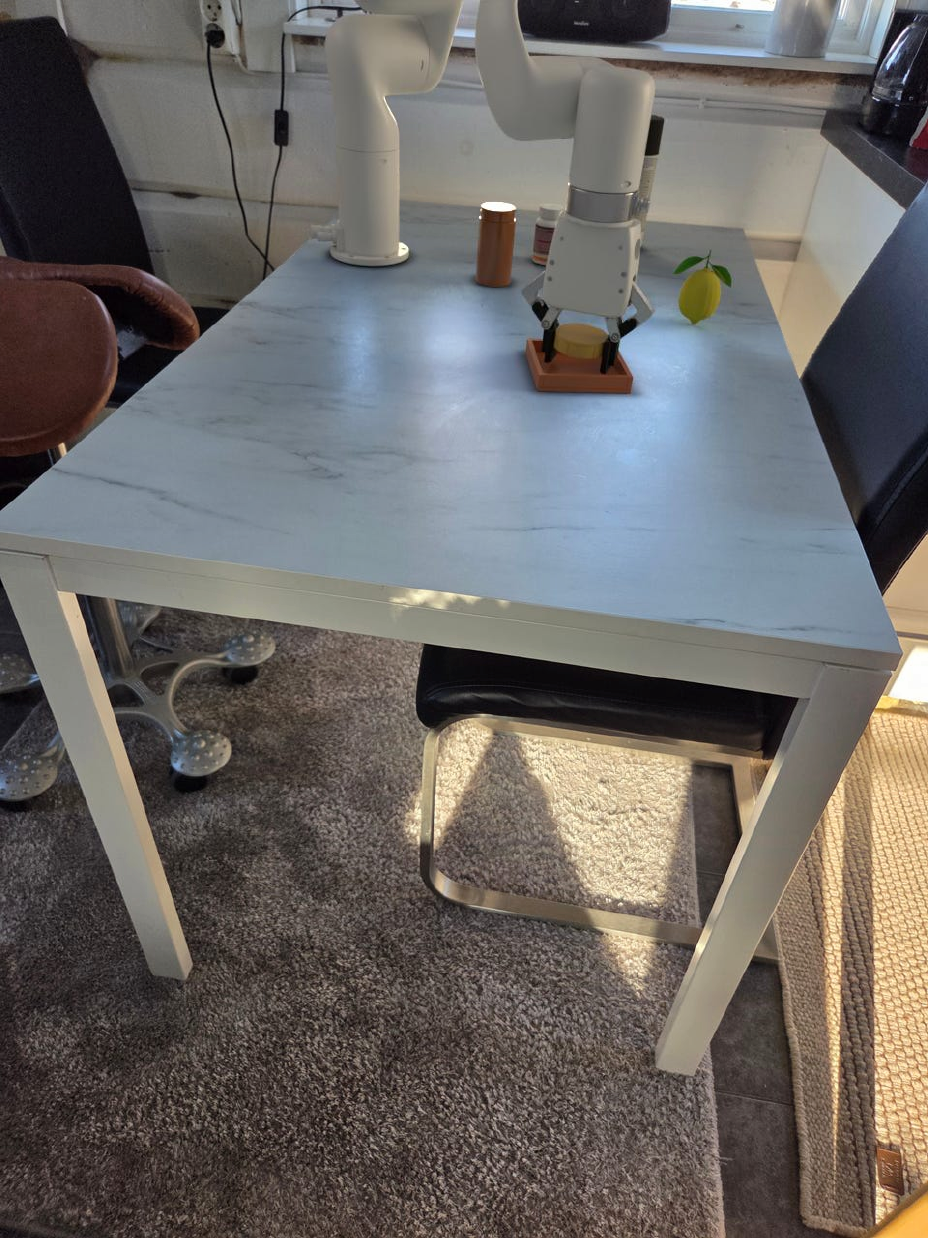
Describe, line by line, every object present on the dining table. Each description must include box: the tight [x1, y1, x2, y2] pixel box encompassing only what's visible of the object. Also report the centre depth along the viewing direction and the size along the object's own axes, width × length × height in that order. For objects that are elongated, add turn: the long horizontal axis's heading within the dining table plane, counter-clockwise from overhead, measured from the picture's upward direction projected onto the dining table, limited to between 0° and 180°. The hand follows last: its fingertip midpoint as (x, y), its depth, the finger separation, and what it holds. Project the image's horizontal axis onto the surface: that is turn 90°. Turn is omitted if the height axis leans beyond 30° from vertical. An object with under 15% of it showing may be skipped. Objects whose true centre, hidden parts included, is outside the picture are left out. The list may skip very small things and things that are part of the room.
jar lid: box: [553, 322, 609, 359], centre depth 99 cm, size 6×6×2 cm
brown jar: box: [475, 201, 517, 288], centre depth 124 cm, size 5×5×11 cm
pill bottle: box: [531, 203, 566, 266], centre depth 134 cm, size 5×5×8 cm
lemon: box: [672, 249, 732, 325], centre depth 114 cm, size 7×6×10 cm
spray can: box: [634, 114, 665, 248], centre depth 139 cm, size 7×7×20 cm
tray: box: [524, 338, 634, 394], centre depth 101 cm, size 11×11×2 cm
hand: (577, 363), depth 101 cm, fingers closed on jar lid, 6 cm apart
